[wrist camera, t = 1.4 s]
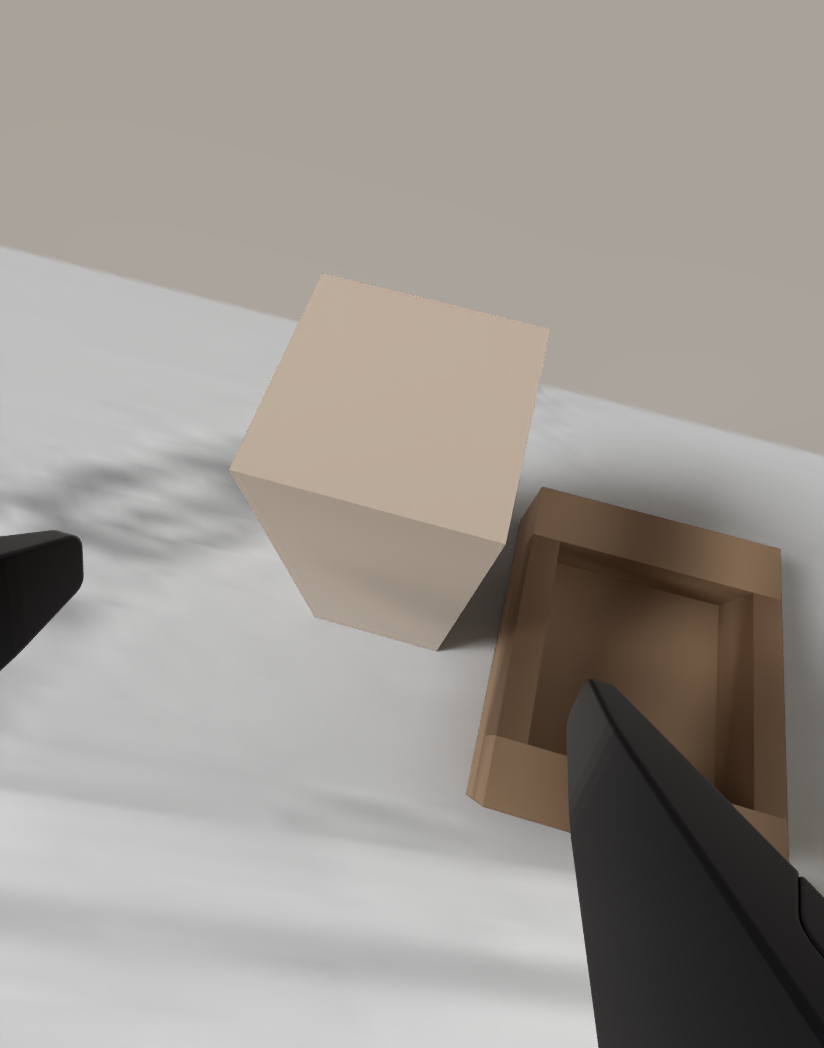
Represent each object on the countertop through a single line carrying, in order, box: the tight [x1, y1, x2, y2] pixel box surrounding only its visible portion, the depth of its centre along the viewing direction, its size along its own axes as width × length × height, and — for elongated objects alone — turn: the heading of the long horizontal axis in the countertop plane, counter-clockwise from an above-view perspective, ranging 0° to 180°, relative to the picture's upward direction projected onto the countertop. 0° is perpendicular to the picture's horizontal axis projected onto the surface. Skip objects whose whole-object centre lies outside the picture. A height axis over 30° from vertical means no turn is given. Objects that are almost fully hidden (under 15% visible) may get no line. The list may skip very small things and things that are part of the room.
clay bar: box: [229, 273, 550, 651], centre depth 15 cm, size 5×5×12 cm
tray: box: [466, 487, 789, 862], centre depth 18 cm, size 9×11×3 cm
